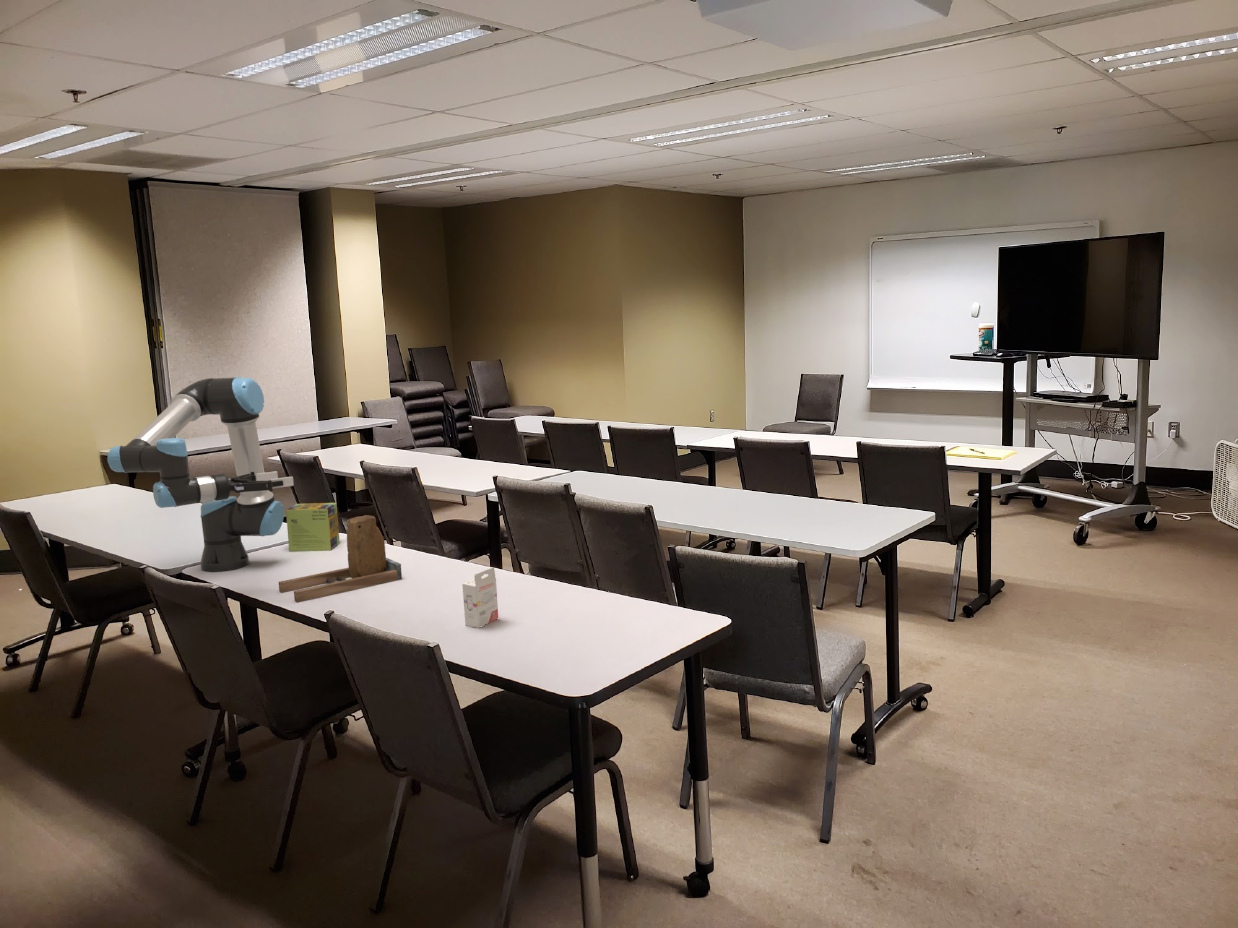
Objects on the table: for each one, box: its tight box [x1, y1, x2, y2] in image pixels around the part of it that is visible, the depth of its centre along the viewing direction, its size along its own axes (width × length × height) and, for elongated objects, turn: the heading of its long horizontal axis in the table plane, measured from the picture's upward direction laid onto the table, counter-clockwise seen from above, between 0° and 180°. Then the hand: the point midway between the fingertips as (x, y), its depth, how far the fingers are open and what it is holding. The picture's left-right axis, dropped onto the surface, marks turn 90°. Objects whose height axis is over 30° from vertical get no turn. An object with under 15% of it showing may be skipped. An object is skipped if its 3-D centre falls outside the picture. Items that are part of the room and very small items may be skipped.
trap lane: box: [278, 557, 403, 603], centre depth 287 cm, size 15×34×5 cm, turn 129°
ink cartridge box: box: [462, 567, 499, 629], centre depth 248 cm, size 9×5×15 cm, turn 148°
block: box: [346, 514, 387, 579], centre depth 291 cm, size 11×8×20 cm
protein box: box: [285, 502, 341, 552], centre depth 334 cm, size 10×15×16 cm
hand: (285, 478), depth 283 cm, fingers open, 13 cm apart
